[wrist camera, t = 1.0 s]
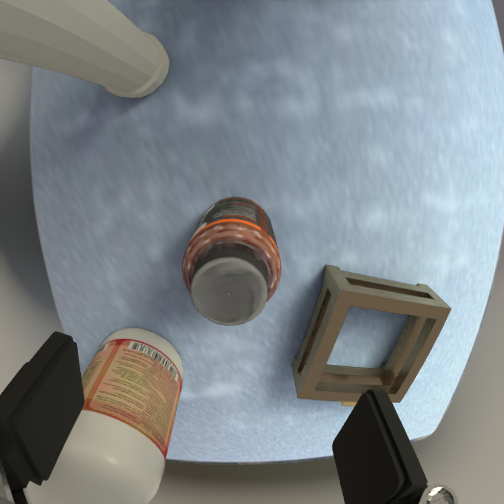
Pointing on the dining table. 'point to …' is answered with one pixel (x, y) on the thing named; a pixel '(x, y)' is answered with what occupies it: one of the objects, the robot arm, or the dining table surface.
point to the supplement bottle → (232, 262)
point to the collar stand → (329, 325)
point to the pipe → (83, 43)
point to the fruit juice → (119, 425)
